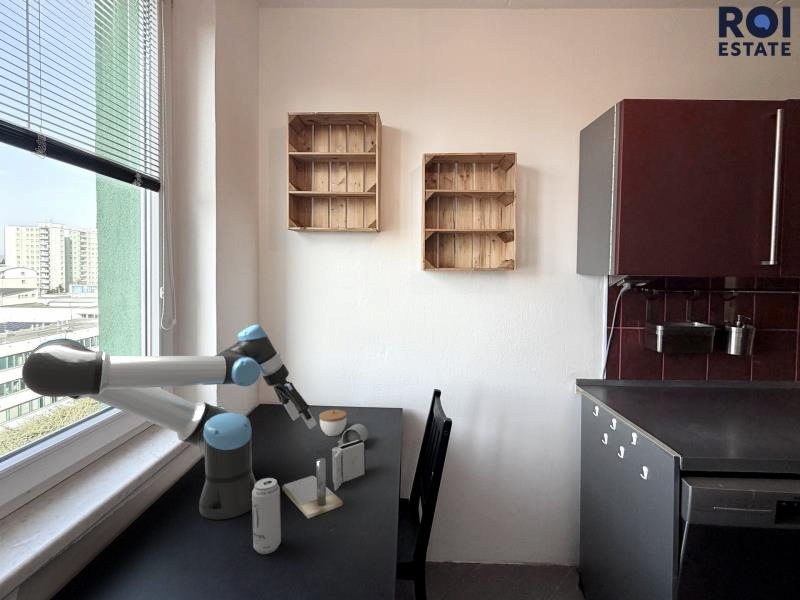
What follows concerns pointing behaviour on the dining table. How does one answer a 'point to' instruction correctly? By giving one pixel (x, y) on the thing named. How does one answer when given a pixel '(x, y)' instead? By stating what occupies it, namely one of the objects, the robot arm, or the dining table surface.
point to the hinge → (348, 462)
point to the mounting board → (312, 507)
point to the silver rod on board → (311, 486)
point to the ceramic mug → (354, 434)
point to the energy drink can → (266, 516)
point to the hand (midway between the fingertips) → (304, 422)
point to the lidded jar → (333, 422)
